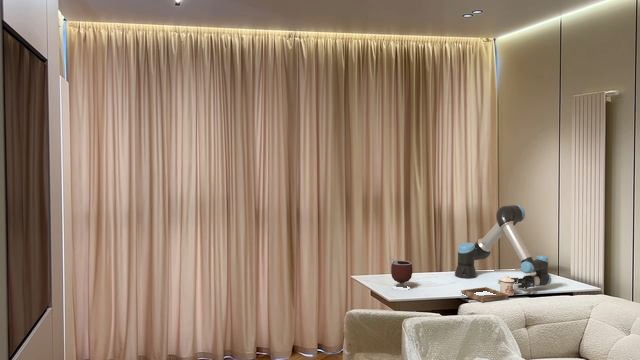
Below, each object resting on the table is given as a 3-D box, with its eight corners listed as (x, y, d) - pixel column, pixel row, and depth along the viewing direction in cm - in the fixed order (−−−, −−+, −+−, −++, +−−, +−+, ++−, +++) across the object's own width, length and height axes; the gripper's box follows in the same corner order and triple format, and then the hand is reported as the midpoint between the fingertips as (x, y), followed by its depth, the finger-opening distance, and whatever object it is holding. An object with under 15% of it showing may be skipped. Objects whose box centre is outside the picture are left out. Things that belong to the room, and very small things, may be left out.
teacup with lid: (506, 296, 378) (506, 278, 377) (496, 292, 387) (497, 275, 386) (521, 294, 383) (521, 276, 382) (511, 291, 391) (511, 273, 391)
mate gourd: (415, 287, 398) (416, 257, 397) (406, 292, 387) (406, 261, 385) (394, 284, 407) (395, 255, 405) (384, 288, 395) (385, 258, 394)
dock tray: (461, 294, 381) (461, 290, 381) (485, 291, 390) (485, 287, 389) (482, 302, 363) (482, 298, 363) (507, 299, 372) (508, 294, 371)
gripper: (545, 291, 381) (519, 294, 372) (516, 282, 404) (491, 285, 395) (545, 279, 381) (520, 282, 372) (516, 271, 403) (492, 274, 394)
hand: (505, 284), depth 383 cm, fingers open, 13 cm apart
